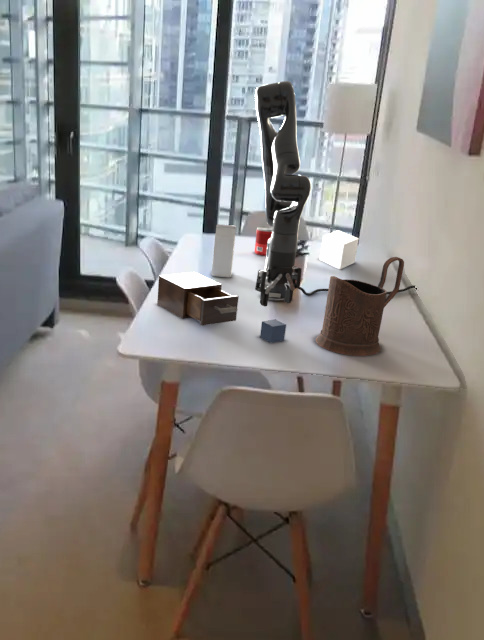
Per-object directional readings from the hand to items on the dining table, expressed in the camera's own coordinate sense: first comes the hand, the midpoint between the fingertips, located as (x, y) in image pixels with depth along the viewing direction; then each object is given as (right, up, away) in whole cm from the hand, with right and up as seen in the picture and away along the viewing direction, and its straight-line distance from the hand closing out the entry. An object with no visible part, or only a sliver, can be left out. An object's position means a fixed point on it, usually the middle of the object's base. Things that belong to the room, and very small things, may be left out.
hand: (275, 304), depth 206 cm
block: (0, -10, +4) cm, 11 cm away
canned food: (+15, +32, +104) cm, 109 cm away
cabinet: (-23, +1, +27) cm, 36 cm away
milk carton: (-7, +18, +68) cm, 71 cm away
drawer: (-17, -3, +16) cm, 24 cm away
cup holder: (+24, -11, +4) cm, 27 cm away
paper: (+45, +28, +97) cm, 111 cm away
